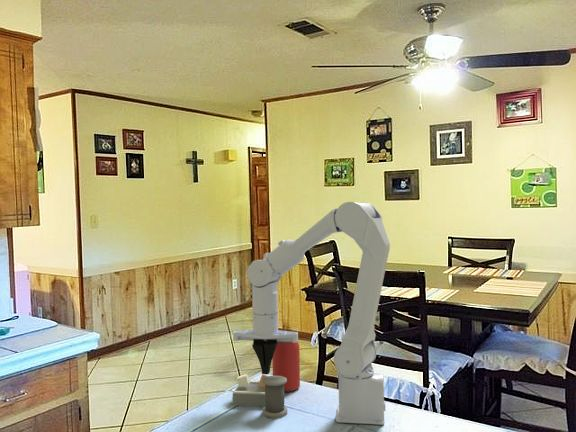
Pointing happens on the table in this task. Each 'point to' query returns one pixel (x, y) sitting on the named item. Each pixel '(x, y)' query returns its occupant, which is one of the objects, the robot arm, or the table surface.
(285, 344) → the beer can
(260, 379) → the orange cube
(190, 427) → the table surface
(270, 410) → the cord spool
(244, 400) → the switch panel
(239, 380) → the cream cube
